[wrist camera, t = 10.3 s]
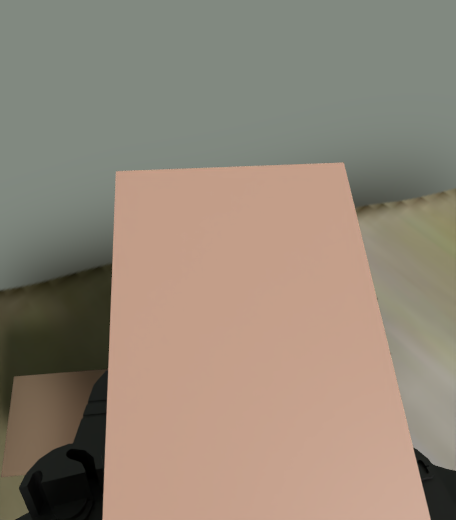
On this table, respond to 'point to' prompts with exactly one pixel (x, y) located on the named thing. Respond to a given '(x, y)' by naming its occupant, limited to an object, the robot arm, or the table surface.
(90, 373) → the walnut crossbar
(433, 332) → the table surface
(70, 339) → the table surface
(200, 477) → the tall pink slab box
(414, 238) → the table surface
